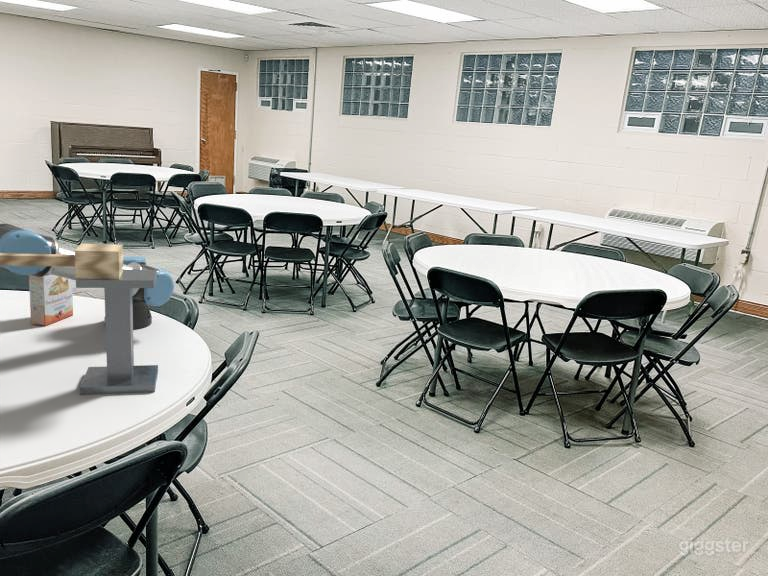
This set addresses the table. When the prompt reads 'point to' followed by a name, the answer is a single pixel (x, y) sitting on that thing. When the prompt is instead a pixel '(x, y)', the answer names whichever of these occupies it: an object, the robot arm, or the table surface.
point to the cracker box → (50, 299)
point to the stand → (120, 337)
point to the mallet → (76, 260)
